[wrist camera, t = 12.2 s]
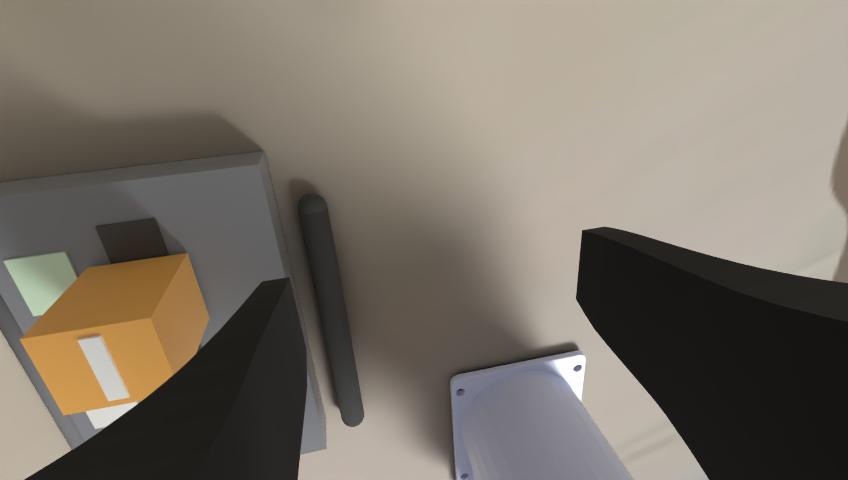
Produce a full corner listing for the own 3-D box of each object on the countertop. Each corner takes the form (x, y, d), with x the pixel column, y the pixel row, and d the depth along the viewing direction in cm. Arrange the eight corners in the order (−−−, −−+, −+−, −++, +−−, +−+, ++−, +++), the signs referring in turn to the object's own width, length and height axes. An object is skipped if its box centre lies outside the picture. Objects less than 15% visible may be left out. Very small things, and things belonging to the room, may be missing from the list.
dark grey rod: (364, 412, 26) (366, 429, 24) (342, 416, 25) (343, 433, 24) (324, 188, 20) (325, 197, 19) (296, 191, 19) (294, 201, 18)
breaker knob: (209, 317, 19) (180, 395, 15) (117, 333, 18) (62, 417, 14) (187, 252, 17) (148, 319, 14) (87, 267, 17) (17, 341, 13)
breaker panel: (325, 418, 25) (326, 450, 23) (130, 458, 24) (114, 496, 22) (264, 150, 18) (257, 165, 17) (-13, 183, 17) (-54, 203, 15)
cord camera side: (123, 462, 24) (113, 482, 23) (97, 467, 23) (87, 488, 22) (0, 231, 18) (-21, 244, 17) (-35, 236, 18) (-58, 249, 17)
